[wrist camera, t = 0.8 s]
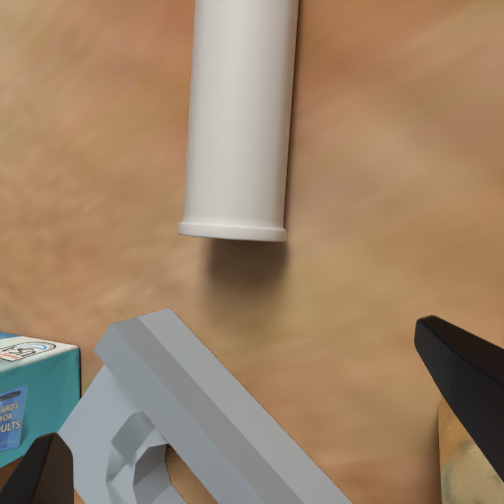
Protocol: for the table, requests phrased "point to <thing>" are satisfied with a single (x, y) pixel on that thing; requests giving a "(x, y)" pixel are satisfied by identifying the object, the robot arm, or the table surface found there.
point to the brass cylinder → (464, 465)
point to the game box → (34, 391)
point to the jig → (180, 426)
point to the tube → (239, 119)
